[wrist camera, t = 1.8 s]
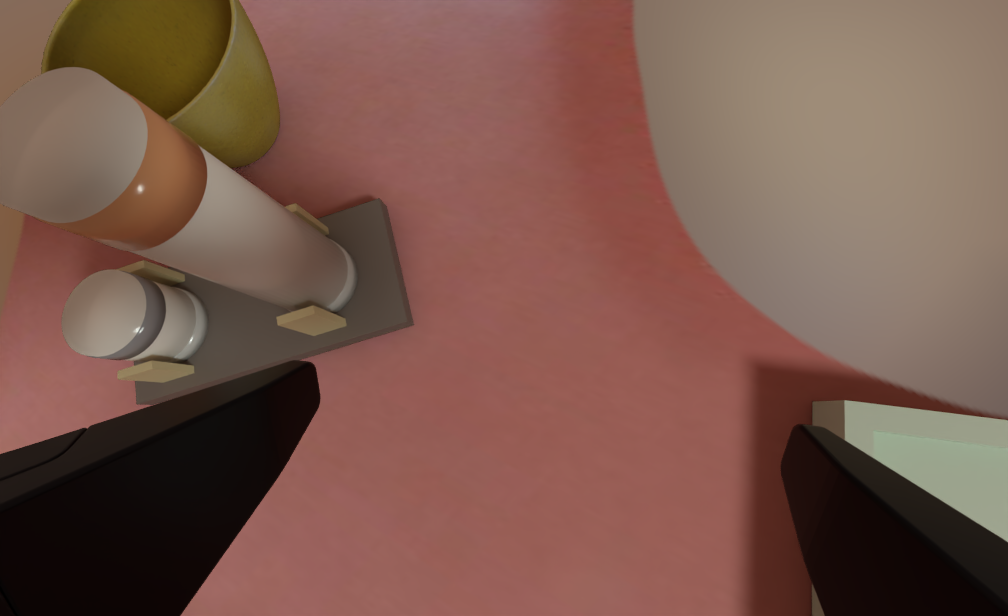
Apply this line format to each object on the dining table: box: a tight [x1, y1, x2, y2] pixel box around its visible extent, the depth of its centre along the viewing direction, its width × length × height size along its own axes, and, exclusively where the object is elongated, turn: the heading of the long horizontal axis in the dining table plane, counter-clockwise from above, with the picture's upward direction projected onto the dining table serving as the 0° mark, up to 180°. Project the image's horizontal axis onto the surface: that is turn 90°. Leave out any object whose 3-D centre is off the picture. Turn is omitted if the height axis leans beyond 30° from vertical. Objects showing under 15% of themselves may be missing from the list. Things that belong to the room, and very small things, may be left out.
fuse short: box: [62, 269, 209, 364], centre depth 23 cm, size 4×4×4 cm
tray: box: [812, 400, 1008, 616], centre depth 17 cm, size 12×12×2 cm
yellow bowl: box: [41, 0, 280, 168], centre depth 25 cm, size 10×10×7 cm
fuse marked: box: [0, 67, 358, 314], centre depth 18 cm, size 4×4×13 cm
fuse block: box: [115, 199, 414, 405], centre depth 23 cm, size 15×7×4 cm, turn 106°
